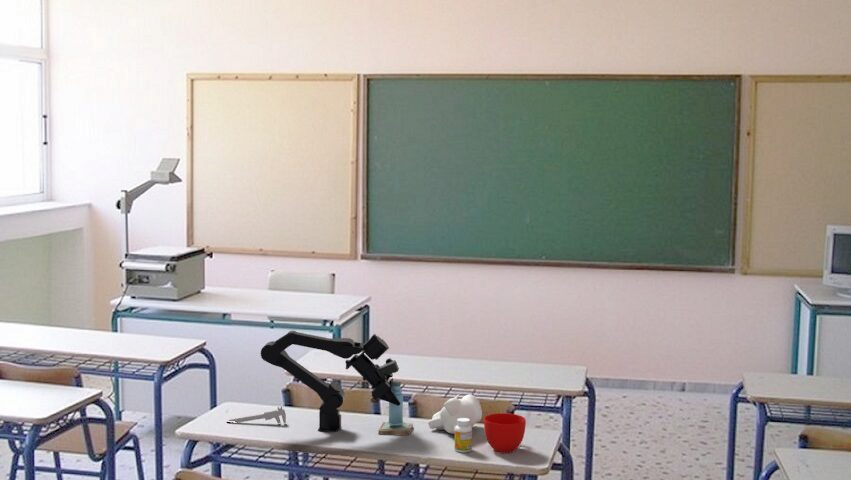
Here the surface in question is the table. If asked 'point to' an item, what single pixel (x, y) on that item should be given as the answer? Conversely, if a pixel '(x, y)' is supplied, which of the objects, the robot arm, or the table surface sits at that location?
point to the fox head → (456, 413)
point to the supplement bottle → (463, 435)
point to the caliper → (264, 416)
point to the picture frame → (395, 429)
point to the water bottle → (395, 410)
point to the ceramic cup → (504, 431)
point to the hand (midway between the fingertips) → (400, 402)
